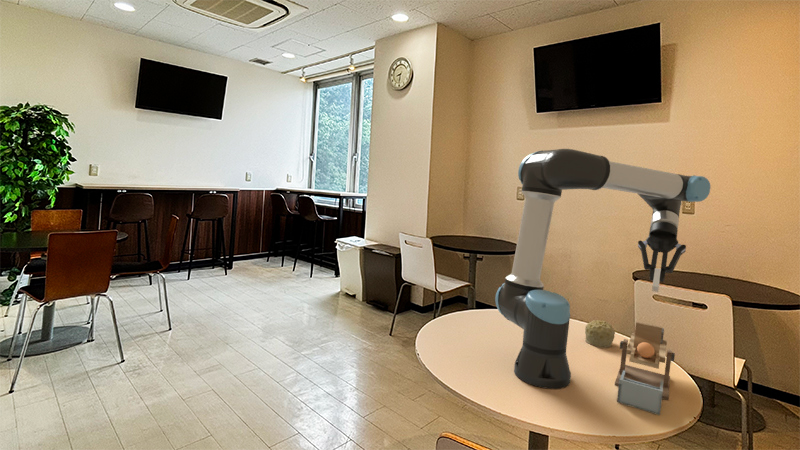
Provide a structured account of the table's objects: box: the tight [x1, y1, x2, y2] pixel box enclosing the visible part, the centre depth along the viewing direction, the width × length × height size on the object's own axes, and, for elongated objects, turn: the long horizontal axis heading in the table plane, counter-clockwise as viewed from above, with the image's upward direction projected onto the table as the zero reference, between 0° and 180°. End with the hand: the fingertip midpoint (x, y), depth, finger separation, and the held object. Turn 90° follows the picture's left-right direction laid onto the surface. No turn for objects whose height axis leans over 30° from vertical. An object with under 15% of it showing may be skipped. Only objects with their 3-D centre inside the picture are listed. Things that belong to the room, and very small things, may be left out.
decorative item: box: [584, 319, 616, 349], centre depth 141 cm, size 10×10×10 cm
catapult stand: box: [614, 338, 676, 401], centre depth 112 cm, size 15×13×10 cm
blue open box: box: [616, 370, 663, 416], centre depth 102 cm, size 9×9×6 cm
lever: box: [626, 321, 668, 370], centre depth 113 cm, size 22×9×9 cm, turn 145°
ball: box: [637, 342, 655, 358], centre depth 106 cm, size 4×4×4 cm
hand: (655, 288), depth 118 cm, fingers closed
